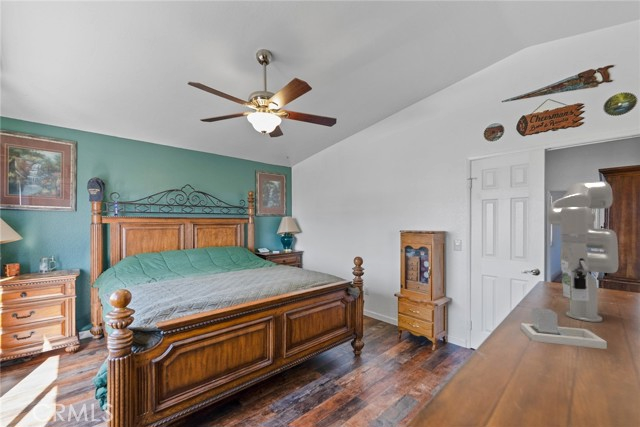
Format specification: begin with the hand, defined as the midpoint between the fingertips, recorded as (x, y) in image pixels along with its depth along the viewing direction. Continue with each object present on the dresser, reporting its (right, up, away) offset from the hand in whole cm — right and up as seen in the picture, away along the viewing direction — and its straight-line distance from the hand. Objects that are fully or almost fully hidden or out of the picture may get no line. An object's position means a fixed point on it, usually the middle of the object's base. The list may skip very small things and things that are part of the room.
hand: (575, 286), depth 107 cm
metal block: (-9, -20, +3) cm, 22 cm away
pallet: (-5, -21, +1) cm, 22 cm away
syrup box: (0, -5, 0) cm, 5 cm away
